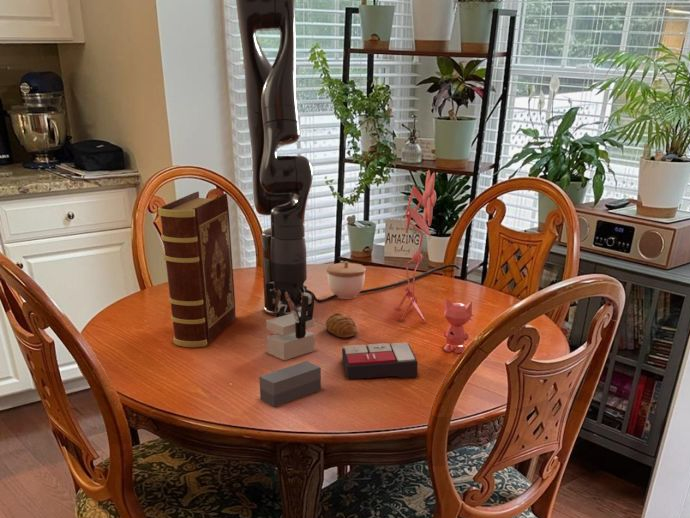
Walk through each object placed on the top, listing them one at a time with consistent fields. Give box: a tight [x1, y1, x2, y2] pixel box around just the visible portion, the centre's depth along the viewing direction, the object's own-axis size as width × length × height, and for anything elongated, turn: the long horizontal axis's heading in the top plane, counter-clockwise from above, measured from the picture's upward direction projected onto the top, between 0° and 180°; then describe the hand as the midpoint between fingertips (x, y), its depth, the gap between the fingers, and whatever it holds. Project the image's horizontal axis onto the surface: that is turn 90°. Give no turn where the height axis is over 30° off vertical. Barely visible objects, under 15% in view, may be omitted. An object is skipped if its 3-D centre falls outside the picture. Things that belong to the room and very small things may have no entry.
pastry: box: [325, 312, 358, 338], centre depth 173 cm, size 9×7×4 cm
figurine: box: [396, 169, 444, 329], centre depth 177 cm, size 15×26×35 cm, turn 2°
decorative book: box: [157, 191, 236, 349], centre depth 164 cm, size 22×8×30 cm, turn 168°
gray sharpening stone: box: [258, 360, 322, 408], centre depth 141 cm, size 12×4×5 cm, turn 135°
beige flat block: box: [265, 312, 315, 336], centre depth 159 cm, size 9×6×2 cm, turn 135°
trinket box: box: [326, 260, 366, 300], centre depth 197 cm, size 11×11×9 cm
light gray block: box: [266, 330, 316, 361], centre depth 161 cm, size 9×6×4 cm, turn 134°
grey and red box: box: [341, 342, 418, 380], centre depth 154 cm, size 11×4×15 cm
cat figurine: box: [443, 298, 474, 354], centre depth 162 cm, size 7×7×12 cm
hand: (290, 333), depth 160 cm, fingers closed on beige flat block, 6 cm apart
